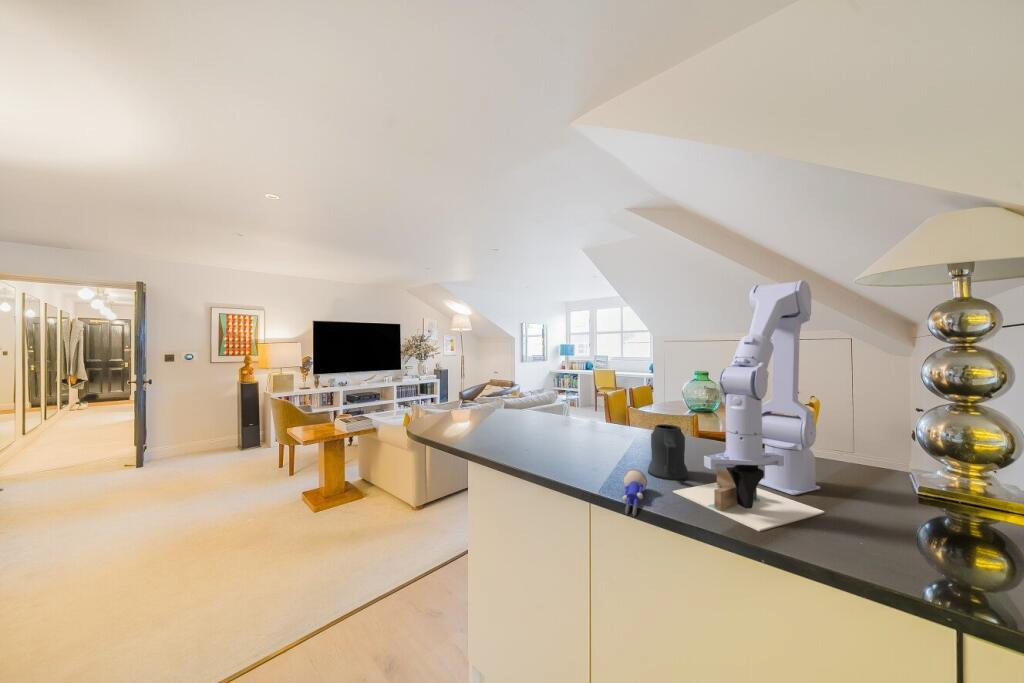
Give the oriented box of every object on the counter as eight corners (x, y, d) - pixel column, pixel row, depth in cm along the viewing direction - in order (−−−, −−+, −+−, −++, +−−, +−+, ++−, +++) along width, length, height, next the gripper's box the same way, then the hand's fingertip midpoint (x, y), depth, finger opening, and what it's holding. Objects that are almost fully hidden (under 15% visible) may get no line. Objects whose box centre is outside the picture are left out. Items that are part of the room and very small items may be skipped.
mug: (646, 466, 95) (646, 421, 95) (685, 469, 93) (685, 424, 93) (649, 482, 84) (649, 432, 84) (694, 487, 81) (694, 434, 81)
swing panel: (742, 497, 74) (742, 481, 74) (748, 499, 73) (748, 483, 73) (714, 507, 69) (714, 489, 69) (720, 509, 68) (720, 492, 68)
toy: (647, 525, 66) (650, 484, 80) (637, 500, 66) (643, 463, 80) (621, 528, 68) (629, 488, 82) (612, 504, 68) (621, 468, 82)
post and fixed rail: (722, 487, 81) (721, 467, 81) (759, 501, 74) (758, 479, 74) (715, 488, 80) (715, 468, 80) (752, 503, 73) (752, 481, 73)
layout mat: (732, 480, 85) (732, 478, 85) (824, 512, 69) (824, 510, 69) (672, 492, 78) (672, 490, 78) (759, 531, 62) (759, 529, 62)
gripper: (762, 425, 74) (763, 495, 74) (693, 428, 72) (694, 499, 72) (793, 434, 67) (794, 511, 67) (718, 437, 65) (719, 515, 65)
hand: (744, 506), depth 69 cm, fingers closed, pressing on swing panel
